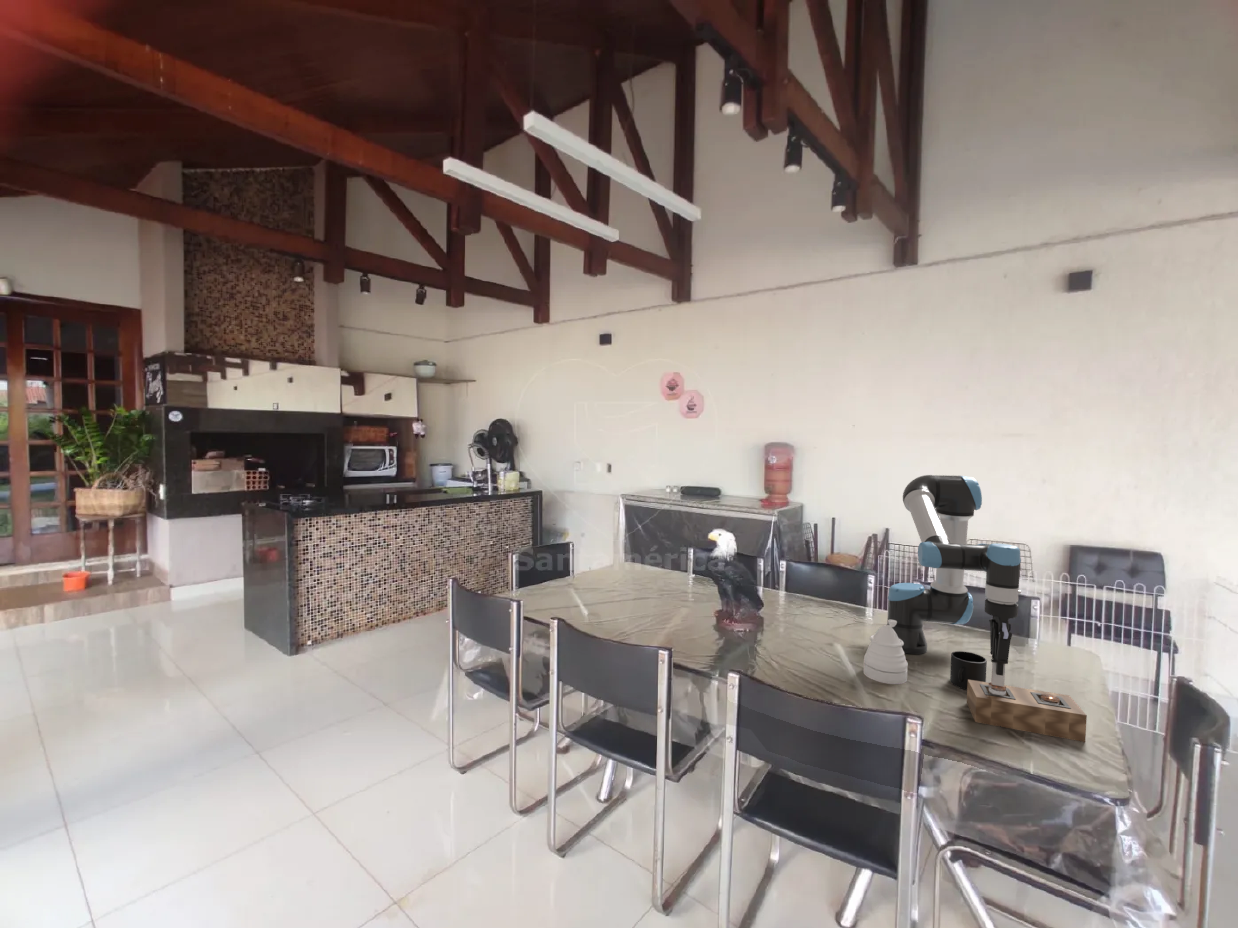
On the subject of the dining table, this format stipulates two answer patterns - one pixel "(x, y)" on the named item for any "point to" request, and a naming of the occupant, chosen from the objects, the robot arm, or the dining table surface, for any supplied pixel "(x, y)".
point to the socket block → (1026, 711)
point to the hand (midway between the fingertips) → (997, 684)
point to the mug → (967, 668)
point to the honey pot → (886, 656)
